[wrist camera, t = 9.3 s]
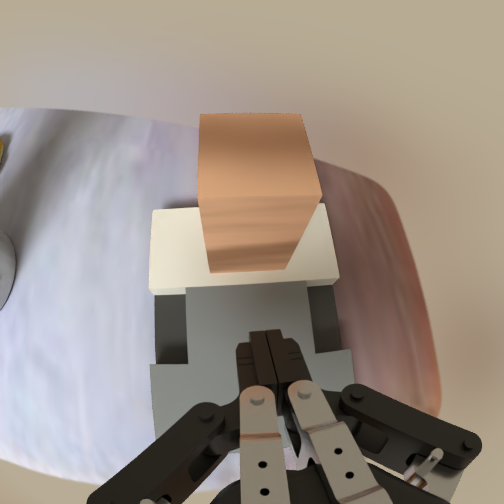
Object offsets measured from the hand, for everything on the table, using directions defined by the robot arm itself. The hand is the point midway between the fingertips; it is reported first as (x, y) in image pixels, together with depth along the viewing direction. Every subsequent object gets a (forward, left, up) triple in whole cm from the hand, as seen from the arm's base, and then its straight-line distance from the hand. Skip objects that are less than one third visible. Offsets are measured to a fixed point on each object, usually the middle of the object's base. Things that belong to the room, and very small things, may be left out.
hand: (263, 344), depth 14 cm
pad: (-4, +6, -6) cm, 10 cm away
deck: (0, -1, -6) cm, 6 cm away
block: (-4, +7, -4) cm, 9 cm away
